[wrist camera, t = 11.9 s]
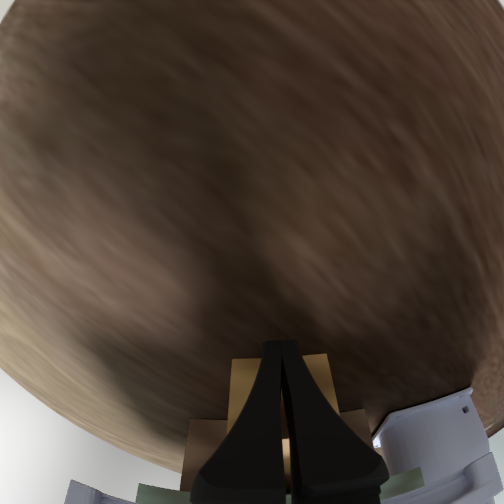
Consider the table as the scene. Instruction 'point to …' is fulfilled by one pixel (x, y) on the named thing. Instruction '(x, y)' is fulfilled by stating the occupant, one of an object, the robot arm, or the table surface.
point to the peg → (244, 380)
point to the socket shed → (214, 432)
